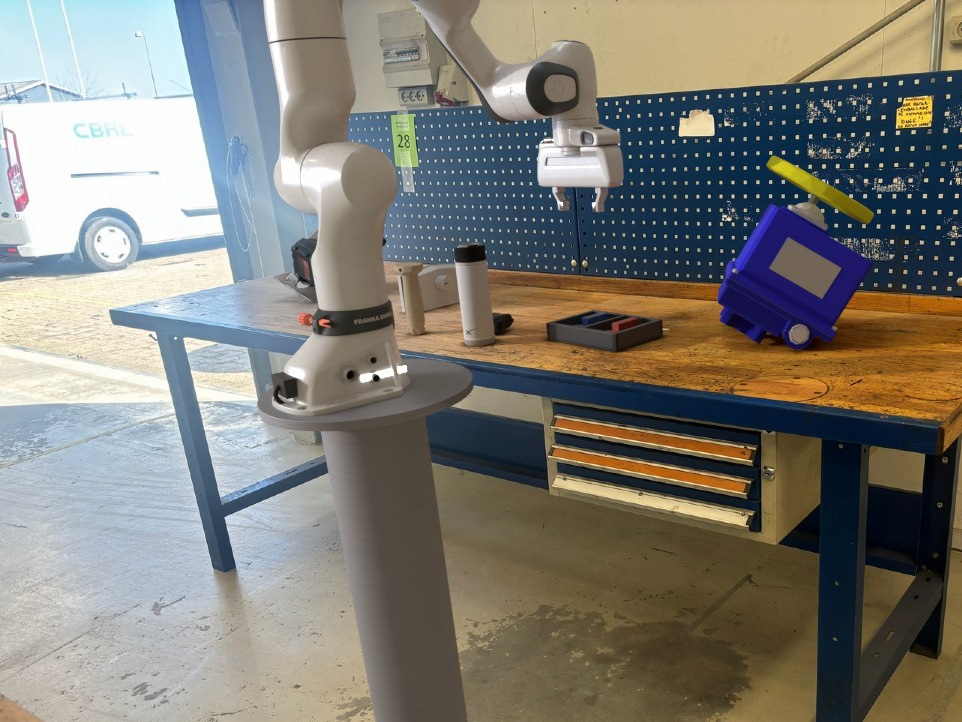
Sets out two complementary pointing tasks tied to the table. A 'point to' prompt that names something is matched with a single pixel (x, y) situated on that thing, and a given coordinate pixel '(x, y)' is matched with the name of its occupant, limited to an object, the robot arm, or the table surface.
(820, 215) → the control box
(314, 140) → the robot arm
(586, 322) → the blue stepped block
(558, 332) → the sorting tray
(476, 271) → the travel mug
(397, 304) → the table surface
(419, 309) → the handle
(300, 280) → the circular saw
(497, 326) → the tape measure
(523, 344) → the table surface
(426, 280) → the lock
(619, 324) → the red stepped block
